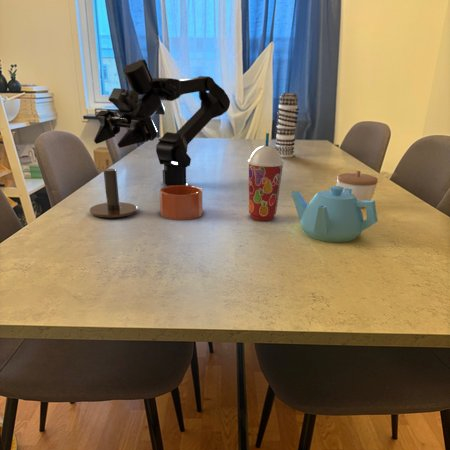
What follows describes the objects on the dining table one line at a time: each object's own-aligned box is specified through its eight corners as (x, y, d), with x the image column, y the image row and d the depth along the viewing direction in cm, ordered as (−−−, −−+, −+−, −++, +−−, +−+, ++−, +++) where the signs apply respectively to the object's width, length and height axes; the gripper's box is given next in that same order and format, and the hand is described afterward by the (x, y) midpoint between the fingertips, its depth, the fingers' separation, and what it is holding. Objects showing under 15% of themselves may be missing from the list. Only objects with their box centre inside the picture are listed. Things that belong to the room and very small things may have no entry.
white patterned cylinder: (295, 157, 188) (302, 94, 176) (274, 156, 188) (279, 93, 176) (293, 154, 196) (298, 93, 184) (272, 153, 196) (277, 92, 184)
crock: (194, 206, 117) (193, 183, 114) (208, 217, 108) (208, 193, 105) (155, 209, 113) (154, 186, 110) (167, 221, 104) (166, 196, 101)
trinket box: (346, 198, 128) (351, 165, 124) (379, 205, 121) (386, 171, 117) (326, 204, 121) (330, 170, 117) (360, 212, 115) (366, 177, 110)
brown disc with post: (131, 205, 116) (128, 164, 111) (142, 217, 107) (139, 173, 102) (87, 208, 112) (81, 166, 107) (94, 221, 103) (88, 176, 98)
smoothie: (281, 215, 111) (289, 132, 102) (274, 224, 104) (281, 136, 95) (250, 211, 114) (255, 130, 104) (241, 220, 107) (245, 134, 97)
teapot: (311, 247, 91) (318, 197, 86) (286, 225, 104) (291, 179, 99) (376, 243, 94) (386, 194, 89) (344, 222, 107) (351, 178, 102)
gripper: (106, 79, 117) (67, 113, 111) (155, 81, 107) (116, 118, 101) (124, 116, 125) (89, 150, 119) (172, 122, 116) (136, 158, 109)
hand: (106, 144), depth 112 cm, fingers open, 9 cm apart
